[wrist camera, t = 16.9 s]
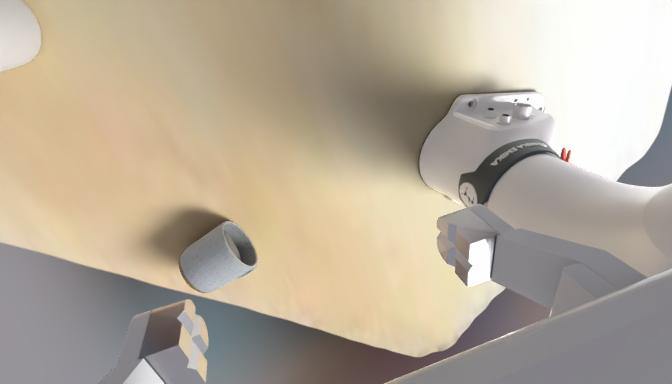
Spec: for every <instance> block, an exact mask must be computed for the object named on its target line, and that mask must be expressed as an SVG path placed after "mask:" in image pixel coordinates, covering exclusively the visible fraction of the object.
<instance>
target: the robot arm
mask: <svg viewBox="0 0 672 384" xmlns="http://www.w3.org/2000/svg"><path fill="white" fill-rule="evenodd" d="M469 102H470V105H469V106H468V104H469ZM556 143H557V124H556V122H555V120H554V118H553V117H552V116H551V115H549V114H547V113H546V105H545V101H544V98H543V96H542V94H540V93H538V92H512V93H490V94H468V95H460V96H459V97H457V98H456V100H455V101H454V103H453V104H452V106H451V108H450V110H449V112H448V114H447V115H446V116H445V117H444V118H443V119H442V120H441V121H440V122H439V123H438V124H437V125H436V126H435V127H434V129H433V130H432V131H431V133H430V134H429V135H428V137H427V139H426V141H425V143H424V145H423V147H422V150H421V154H420V161H419V167H420V173H421V176H422V178H423V180H424V182H425V183H426V184H427V185H428V186H429V187H430V188H431V189H433V190H435V191H438V192H440V193H442V194H444V195H446V196H448V197H449V198H450V199H451V200H452V201H453V202H455V203H457V204H461V205H463V206H465V207H466V208H465V209H462V210H459V211H456V212H453V213H450V214H447V215H444V216H441V217H439V218H438V220H437V228H438V229H439V230H440V231H441V232H440V234H439V235H438V237H437V246H438V249H439V252H440V254H441V256H442V258H443V259H444V260H445V261H446V263H447V264H450V265H452V266H455V273H456V274H457V276H458V277H459V278H460V279H461V280H462V281H463V282H464V284H465V285H466V286H467V287H469V286H472V285H475V284H478V283H481V282H484V281H487V280H490V279H491V280H492V281H494V282H496V283H498V284H500V285H502V286H504V287H506V288H508V289H510V290H512V291H514V292H516V293H518V294H520V295H523V296H524V297H526V298H529V299H531V300H533V301H535V302H537V303H539V304H541V305H543V306H545V307H547V308H549V309H551V313H550V317H549V318H547V319H544V320H542V321H539V322H537V323H534V324H532V325H529V326H527V327H524V328H522V329H519V330H517V331H514V332H512V333H509V334H507V335H504V336H502V337H499V338H497V339H494V340H492V341H489V342H487V343H484V344H482V345H479V346H477V347H474V348H472V349H469V350H467V351H464V352H462V353H459V354H457V355H454V356H452V357H449V358H447V359H444V360H442V361H439V362H437V363H434V364H432V365H429V366H427V367H424V368H422V369H420V370H417V371H414V372H412V373H409V374H407V375H404V376H402V377H400V378H397V379H394V380H392V381H389V382H387V383H384V384H672V183H671V184H669V185H667V186H663V187H643V186H634V185H628V184H623V183H619V182H616V181H612V180H609V179H606V178H603V177H601V176H599V175H596V174H594V173H591V172H589V171H587V170H584V169H582V168H579V167H577V166H575V165H573V164H570V163H569V159H570V154H571V150H569V151H568V154H567V157H566V149H565V148H563V149H562V153H561V157H559V156H558V155H557V153H556V152H555V149H556ZM207 348H208V332H207V328H206V325H205V322H204V320H203V319H202V317H201V316H198V315H195V305H194V304H193V302H192V301H191V300H189V299H187V300H184V301H180V302H177V303H174V304H170V305H167V306H163V307H160V308H157V309H154V310H152V311H148V312H145V313H141V314H138V315H135V316H134V318H133V319H132V320H131V323H130V326H129V329H128V332H127V336H126V338H125V342H124V345H123V348H122V351H121V354H120V357H119V361H118V363H117V367H116V368H113V369H111V370H110V371H109V372H108V373H107V374H106V375H105V376H104V377H103V379H102V380H101V381H100V382H99V383H98V384H204V383H206V370H207V361H206V359H205V357H204V356H203V354H204V353H205V351H206V350H207Z"/></svg>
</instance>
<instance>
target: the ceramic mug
mask: <svg viewBox="0 0 672 384" xmlns="http://www.w3.org/2000/svg"><path fill="white" fill-rule="evenodd" d="M256 266H257V254H256V251H255V248H254V246H253V244H252V242H251V240H250V238H249V237H248V235H247V234H246V233H245V232H244V231H243V230H242V229H241V228H240V227H239V226H238V225H237V224H235V223H234V222H231V221H225V222H223V223H221V224H220V225H219V226H217V227H216V228H214V229H213V230H211V231H210V232H209V233H207V234H206V235H204V236H203V237H202V238H200V239H199V240H197V241H196V242H194V243H193V244H191V245H190V246H189V247H187V248H186V249H185V251H184V252H183V253H182V254H181V256H180V259H179V268H180V272H181V274H182V276H183V278H184V280H185V281H186V283H187V284H188V285H189V286H190V287H191V288H193V289H194V290H196V291H198V292H201V293H208V292H212V291H214V290H217V289H219V288H221V287H222V286H224V285H226V284H227V283H229V282H230V281H232V280H234V279H237V278H241V277H243V276H245V275H247V274H249V273H250V272H252V271H253V270H254V269H255V268H256Z"/></svg>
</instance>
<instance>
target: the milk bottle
mask: <svg viewBox="0 0 672 384" xmlns="http://www.w3.org/2000/svg"><path fill="white" fill-rule="evenodd" d="M41 42H42V36H41V30H40V26H39V23H38V21H37V19H36V17H35V15H34V14H33V12H32V11H31V9H30V8H29V7H28V5H27V4H26V3H25V2H24V1H23V0H0V72H2V71H5V70H9V69H13V68H16V67H19V66H22V65H24V64H27V63H28V62H30V61H31V60H33V59H34V58H35V57H36V55H37V54H38V52H39V50H40V47H41Z"/></svg>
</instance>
